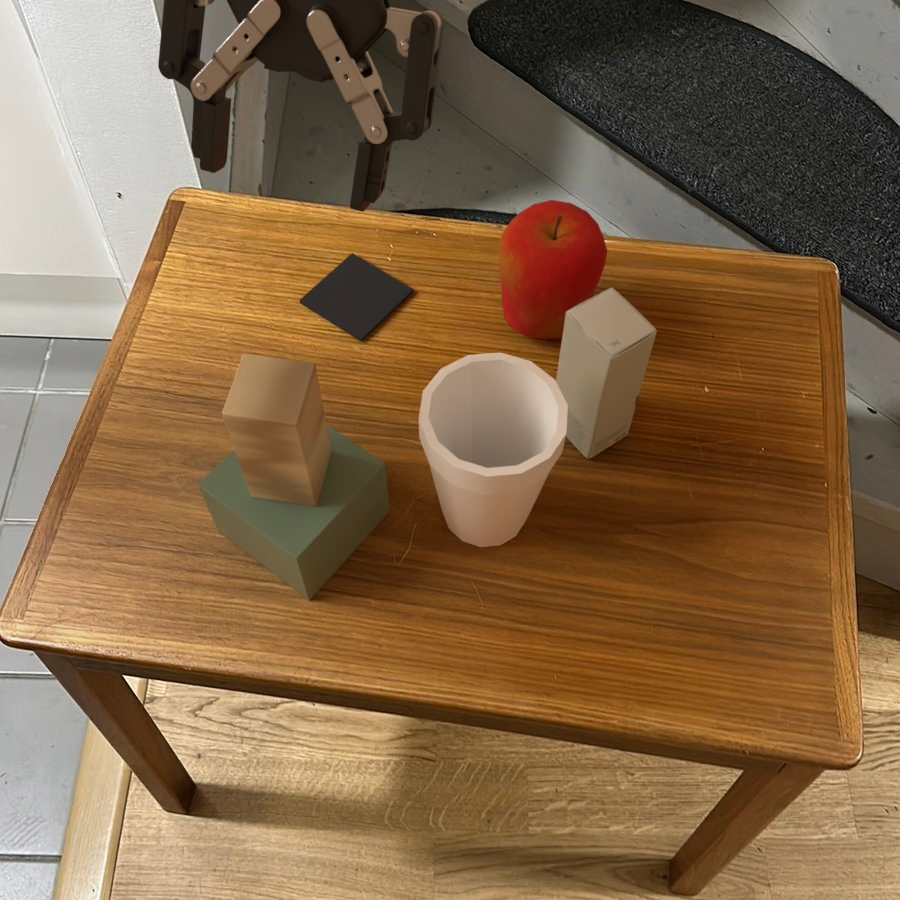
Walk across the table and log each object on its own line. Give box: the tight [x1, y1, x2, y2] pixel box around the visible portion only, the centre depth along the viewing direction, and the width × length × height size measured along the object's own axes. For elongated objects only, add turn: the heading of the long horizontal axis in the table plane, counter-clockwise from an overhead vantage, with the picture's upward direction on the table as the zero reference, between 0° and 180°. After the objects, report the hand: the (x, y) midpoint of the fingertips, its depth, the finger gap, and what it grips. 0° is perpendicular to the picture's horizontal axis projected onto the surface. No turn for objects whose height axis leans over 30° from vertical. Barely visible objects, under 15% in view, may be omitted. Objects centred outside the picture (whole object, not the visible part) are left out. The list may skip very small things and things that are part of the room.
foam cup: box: [418, 351, 568, 548], centre depth 64 cm, size 10×9×13 cm
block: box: [221, 352, 331, 507], centre depth 58 cm, size 4×4×10 cm
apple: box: [498, 199, 608, 340], centre depth 74 cm, size 9×8×12 cm
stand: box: [197, 424, 390, 601], centre depth 65 cm, size 9×9×7 cm
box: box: [555, 287, 657, 460], centre depth 68 cm, size 5×4×13 cm
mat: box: [299, 252, 415, 343], centre depth 80 cm, size 7×7×1 cm
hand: (286, 188), depth 51 cm, fingers open, 8 cm apart
